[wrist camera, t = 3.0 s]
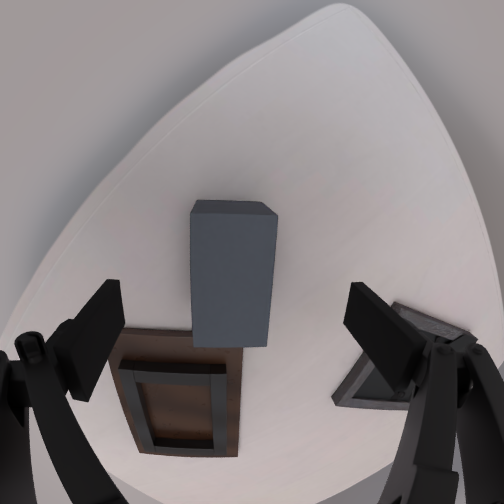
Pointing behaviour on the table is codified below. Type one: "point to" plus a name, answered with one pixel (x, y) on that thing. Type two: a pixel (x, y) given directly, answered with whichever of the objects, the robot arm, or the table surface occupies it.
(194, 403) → the back plate
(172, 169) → the table surface
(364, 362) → the picture frame
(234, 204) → the pad block
